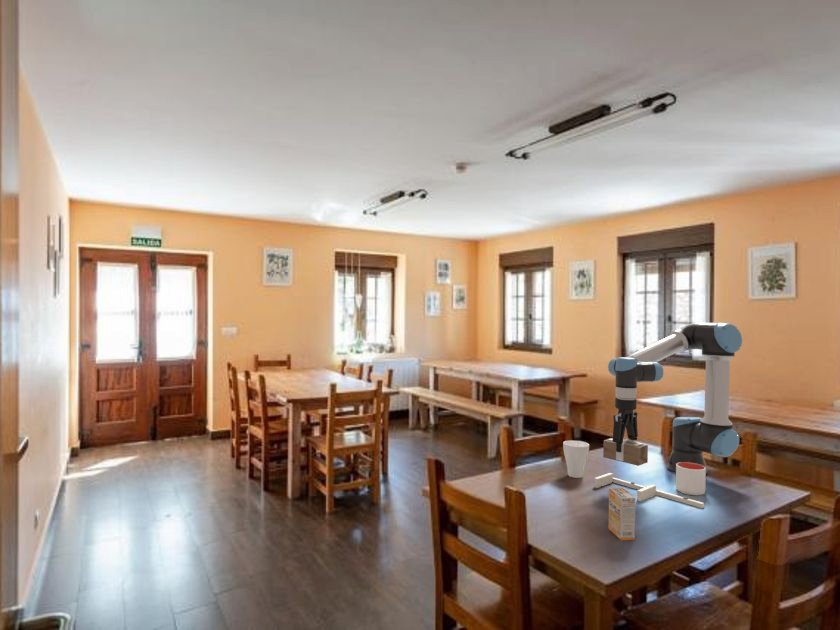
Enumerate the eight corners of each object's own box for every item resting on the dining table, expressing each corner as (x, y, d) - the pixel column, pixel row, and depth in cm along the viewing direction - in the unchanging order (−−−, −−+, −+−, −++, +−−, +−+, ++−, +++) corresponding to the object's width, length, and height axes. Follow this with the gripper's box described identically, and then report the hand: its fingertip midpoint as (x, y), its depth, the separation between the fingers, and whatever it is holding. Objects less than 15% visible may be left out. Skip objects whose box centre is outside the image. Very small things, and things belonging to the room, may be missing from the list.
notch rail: (610, 480, 209) (610, 471, 209) (703, 507, 181) (704, 497, 181) (593, 486, 201) (593, 477, 201) (688, 515, 173) (688, 505, 173)
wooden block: (612, 454, 203) (613, 436, 203) (647, 462, 192) (647, 443, 192) (603, 457, 198) (603, 438, 198) (638, 465, 188) (638, 446, 188)
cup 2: (709, 497, 191) (709, 470, 191) (680, 495, 193) (680, 468, 193) (700, 488, 201) (700, 463, 201) (672, 486, 203) (672, 461, 203)
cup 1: (591, 474, 216) (592, 442, 216) (585, 481, 207) (585, 448, 207) (566, 470, 222) (567, 439, 222) (559, 476, 213) (559, 444, 213)
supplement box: (607, 529, 162) (608, 487, 162) (622, 528, 162) (622, 487, 162) (619, 541, 154) (620, 497, 153) (635, 540, 154) (636, 497, 154)
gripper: (629, 394, 204) (628, 451, 205) (602, 399, 191) (601, 460, 192) (648, 396, 199) (647, 456, 199) (621, 402, 186) (620, 465, 186)
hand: (625, 458), depth 195 cm, fingers closed on wooden block, 7 cm apart
